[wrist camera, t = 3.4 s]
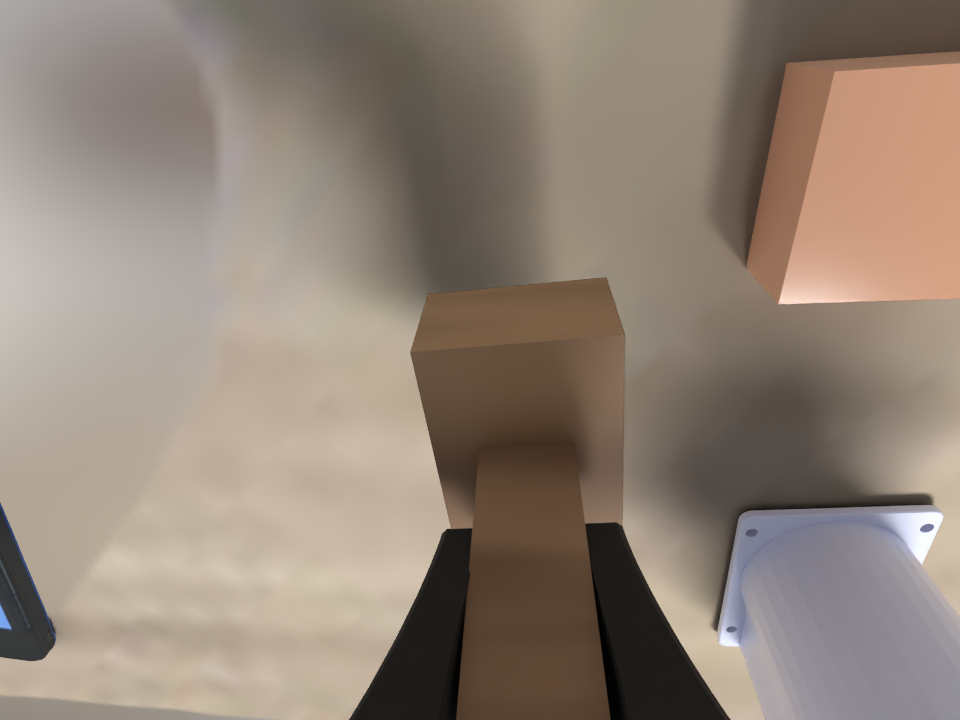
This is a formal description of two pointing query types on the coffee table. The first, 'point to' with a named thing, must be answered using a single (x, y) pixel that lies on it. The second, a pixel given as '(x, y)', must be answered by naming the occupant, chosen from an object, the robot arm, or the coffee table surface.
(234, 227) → the coffee table surface
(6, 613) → the handheld game console
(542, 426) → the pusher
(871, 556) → the robot arm
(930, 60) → the tile
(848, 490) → the coffee table surface
